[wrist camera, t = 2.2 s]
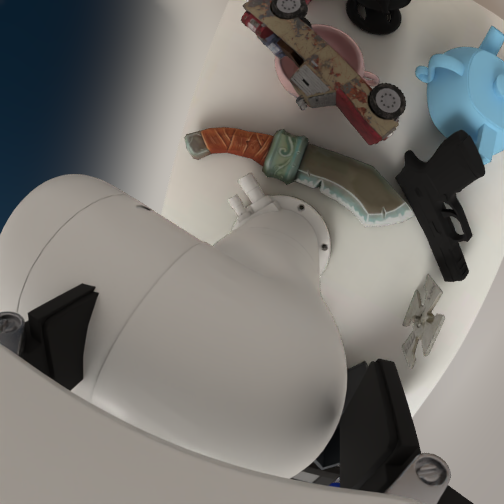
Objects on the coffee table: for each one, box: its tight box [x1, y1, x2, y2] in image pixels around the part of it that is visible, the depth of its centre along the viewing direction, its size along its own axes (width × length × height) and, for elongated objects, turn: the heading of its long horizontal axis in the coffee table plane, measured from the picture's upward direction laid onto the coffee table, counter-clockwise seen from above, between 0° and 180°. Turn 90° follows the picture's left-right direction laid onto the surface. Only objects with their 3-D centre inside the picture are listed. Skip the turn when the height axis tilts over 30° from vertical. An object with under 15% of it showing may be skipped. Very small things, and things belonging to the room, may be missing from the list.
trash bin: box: [314, 362, 368, 470], centre depth 38 cm, size 11×12×9 cm
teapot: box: [415, 26, 504, 165], centre depth 23 cm, size 20×17×12 cm
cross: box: [402, 274, 445, 369], centre depth 32 cm, size 10×3×10 cm, turn 169°
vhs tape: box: [290, 461, 340, 486], centre depth 47 cm, size 8×14×2 cm, turn 68°
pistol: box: [395, 130, 485, 282], centre depth 28 cm, size 3×17×12 cm, turn 33°
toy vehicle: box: [241, 0, 406, 145], centre depth 24 cm, size 7×18×8 cm
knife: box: [184, 127, 415, 226], centre depth 34 cm, size 3×7×30 cm
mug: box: [275, 24, 380, 98], centre depth 29 cm, size 12×10×6 cm
